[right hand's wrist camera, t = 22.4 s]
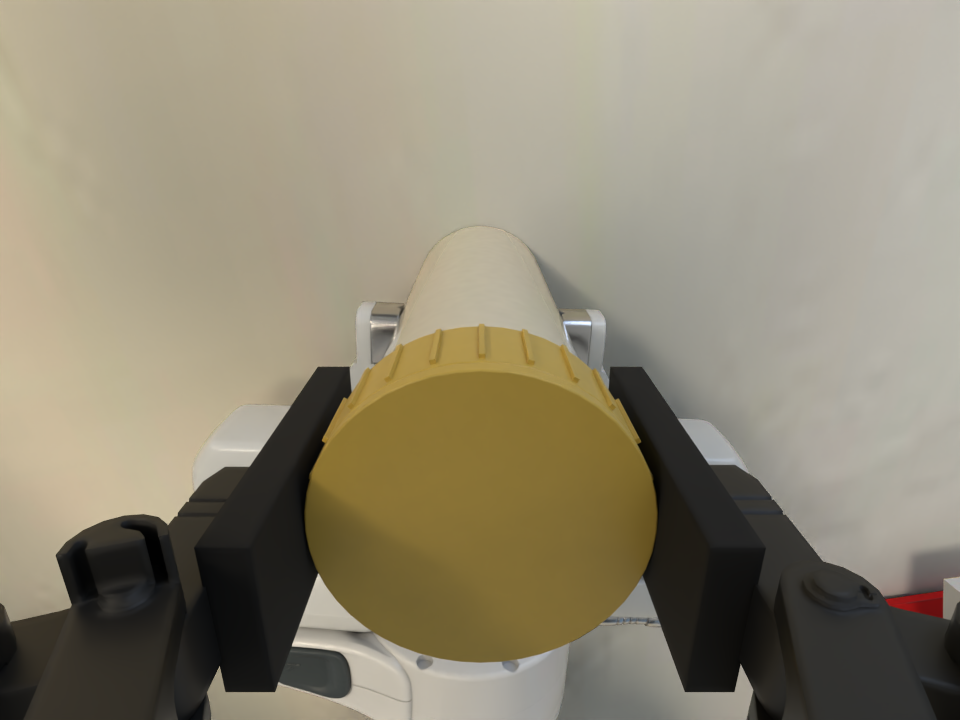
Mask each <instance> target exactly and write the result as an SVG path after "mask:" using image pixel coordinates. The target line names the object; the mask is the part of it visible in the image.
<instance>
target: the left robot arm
mask: <svg viewBox="0 0 960 720" xmlns="http://www.w3.org/2000/svg"><path fill="white" fill-rule="evenodd" d="M404 307H405V306H404V303H387V302H376V301H373V302H362V303H361V305H360V306H359V308H358V309H357V313H356V322H355V330H356V354H357V356H356V358H355V360H354V361H353V363H352V365H351V367H350V378H351V390H352V392H353V390H354V388H355V387H356V385H357V384H358V383H359V381H360V379H361V377H362V375H363V373H364V371H365V369H366V368H367V367H368V368H369V369H371V368H372V367H374V366H375V364H376V363H378V362H380V361H381V360H382V358H383V356H384V353H385V351H386V349H387V346H388V344H389V342H390V339H391V337H392V335H393V332H394V330H395V328H396V325H397V323H398V321H399V318H400V316H401V314H402V311H403V309H404ZM558 311H559V313H560V315H561V318H562V320H563V322H564V324H565V327H566V329H567V331H568V334H569V336H570V338H571V340H572V343H573V345H574V347H575V349H576V352H577V354H578V356H579V359H580V360H581V361H583V362H584V363H585V364H586V365H587V366H588V367H589V368H591V369H592V370H593V369H594V368H596V369H597V370H598V372H599V374H600V376H601V378H602V380H603V382H604V384H605V385H606V387H607V388H608V390H609V379H608V377H607V375H606V372H605V370H604V369H603V367H602V363H603V355H604V346H605V338H606V321H605V318H604V316H603V315H602V313H601V312H600V310H591V309H558ZM290 407H291V406H287V405H260V404H247V405H242V406H240V407H238V408H236V409H235V410H234V411H233V412H232V413H231V414H230V415H229V416H228V417H227V418H226V419H225V420H224V421H223V422H222V423H221V424H220V425H219V426H217V427H216V429H215V430H214V431H213V432H212V433H211V434H210V436H209V437H208V438H207V440H206V441H205V442H204V444H203V445H202V446H201V448H200V450H199V451H198V453H197V455H196V457H195V460H194V462H193V467H192V481H193V489H194V492H195V491H196V489H197V488H198V487H199V486H200V484H201V483H202V482H203V481H204V480H206V479H207V478H209V477H210V476H212V475H213V474H215V473H216V472H218V471H219V470H221V469H222V468H224V467H250V465H251V464H252V462H253V461H254V459H255V458H256V457H257V455H258V454H259V452H260V451H261V449H262V448H263V446H264V445H265V443H266V442H267V441H268V439H269V438H270V436H271V435H272V433H273V432H274V430H275V429H276V427H277V426H278V425H279V423H280V422H281V420H282V419H283V417H284V416H285V414H286V413H287V411H288V410H289V409H290ZM678 420H679V422H680V423H681V424H682V426H683V427H684V429H685V430H686V432H687V433H688V435H689V436H690V438H691V439H692V440H693V442H694V443H695V445H696V446H697V448H698V449H699V451H700V452H701V454H702V455H703V456H704V458H705V459H706V461H707V462H708V464H709V465H736V466H738V467H739V468H741V469H742V470H744V471H745V472H747V473H748V474H749V471H748V469H747V467H746V466H745V464H744V462H743V460H742V459H741V458H740V456H739V455H738V453H737V452H736V450H735V449H734V447H733V446H732V445H731V444H730V443H729V442H728V440H727V439H726V438H725V437H724V436H723V435H722V434H721V433H720V432H719V431H718V430H717V429H716V428H715V426H714V425H712V424H711V423H710V422H708V421H705V420H699V419H678ZM628 623H629V624H644V625H645V626H649V627H661V625H660V622H659V619H658V617H657V614H656V611H655V608H654V606H653V603H652V600H651V597H650V595H649V592H648V589H647V587H646V584H645V581H644V578H643V576H642V577H641V579H640V581H639V582H638V584H637V586H636V587H635V589H634V590H633V591H632V593H631V594H630V595H629V597H628V598H627V599H626V601H625V602H624V603H623V604H622V605H621V606H620V607H619V608H618V609H617V610H616V611H615V612H614V613H613V614H612V615H611V616H610V617H609V618H607V619H606V620H605V621H604V622H602V623H601V624H600V625H599V626H611V625H622V624H628ZM569 648H570V643H568V644H566V645H564V646H562V647H559V648H557V649H554V650H551V651H548V652H545V653H543V654H539V655H535V656H531V657H527V658H523V659H517V660H510V661H503V662H486V663H475V662H458V661H452V660H445V659H439V658H435V657H431V656H427V655H423V654H419V653H416V652H414V651H411V650H408V649H405V648H403V647H400V646H398V645H396V644H394V643H392V642H390V641H388V640H386V639H384V638H382V637H380V636H379V635H377V634H375V633H374V632H372V631H371V630H369V629H368V628H366V627H365V626H363V625H362V624H361V623H360V622H358V621H357V620H356V619H355V618H354V617H352V616H351V615H350V614H349V613H348V612H347V611H346V610H345V609H344V608H343V607H342V606H341V605H340V604H339V603H338V602H337V601H336V599H335V598H334V597H333V595H332V594H331V593H330V591H329V590H328V588H327V587H326V586H325V584H324V582H323V580H322V579H321V577H320V575H319V573H318V576H317V578H316V581H315V584H314V587H313V589H312V592H311V595H310V598H309V600H308V603H307V606H306V608H305V611H304V614H303V617H302V619H301V622H300V625H299V628H298V630H297V633H296V636H295V639H294V641H293V644H292V647H291V649H290V652H289V655H288V658H287V660H286V663H285V666H284V669H283V671H282V674H281V677H280V680H279V682H278V686H282V687H286V688H290V689H294V690H297V691H301V692H305V693H308V694H311V695H314V696H318V697H321V698H324V699H327V700H330V701H332V702H335V703H338V704H341V705H343V706H346V707H348V708H350V709H353V710H355V711H357V712H359V713H362V714H364V715H366V716H368V717H370V718H372V720H557V717H558V715H559V712H560V708H561V705H562V701H563V695H564V687H565V679H566V671H567V663H568V655H569Z"/></svg>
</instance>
